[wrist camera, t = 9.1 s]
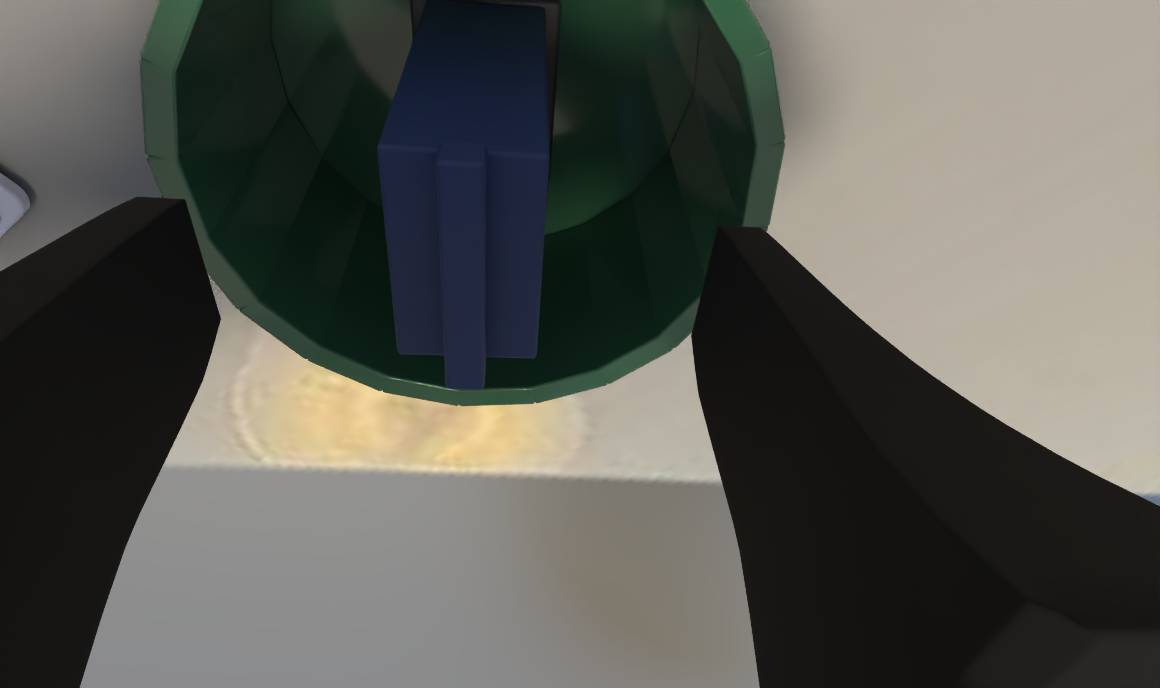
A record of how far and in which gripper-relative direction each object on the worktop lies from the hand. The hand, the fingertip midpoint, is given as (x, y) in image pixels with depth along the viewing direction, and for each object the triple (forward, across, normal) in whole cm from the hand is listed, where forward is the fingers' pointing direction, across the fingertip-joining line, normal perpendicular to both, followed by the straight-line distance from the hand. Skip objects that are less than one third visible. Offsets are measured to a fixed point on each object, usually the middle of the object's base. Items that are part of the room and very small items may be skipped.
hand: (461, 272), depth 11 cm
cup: (+8, 0, 0) cm, 8 cm away
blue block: (+8, 0, 0) cm, 8 cm away
